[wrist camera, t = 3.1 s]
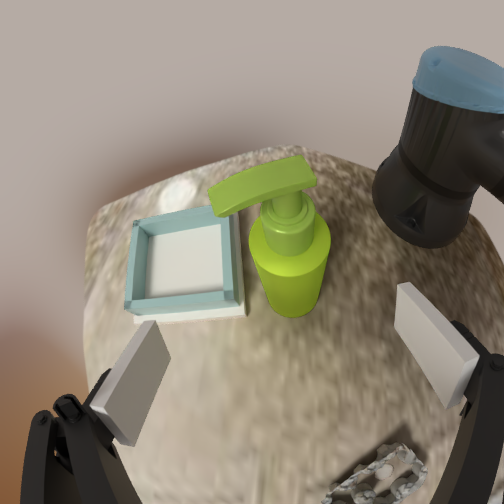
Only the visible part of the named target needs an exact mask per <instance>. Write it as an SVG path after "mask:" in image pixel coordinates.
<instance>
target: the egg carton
mask: <svg viewBox="0 0 504 504" xmlns="http://www.w3.org/2000/svg"><path fill="white" fill-rule="evenodd" d="M401 444H402V445H401ZM401 444H399V443H398V442H395V443H394V444H391V445H385V444H383V445H381V446H380V447H379V448H378V449H377V458H376V460H375V461H374V462H373V463H371V464H369V465H361V464H359V465H358V466H357V467H356V468H355V469H354V470H353V471H354V475H352V476H351V477H350V478H348V479H347V480H346V481H345V482H343V483H342V484H339V483H337V482H335V483H334V484H332V485H331V486H330V487H329V490H330V493H327V494H326V498H325V499H324V500H323V501H321V503H322V504H346V503H345V502H344V501H340V500H338V501H334V502H332V495H331V493H333V492H334V491H335V490H339V491H340V490H343V491H346V490H349V489H352V490H351V496H352V498H353V500H354V502H355V503H356V504H399V503H400V502H402V501H403V500H404V499H405V498H406V497H407V496H409V495H410V494H411V493H413V492H414V491H416V490H417V489H419V488H420V486H421V485H422V484H423V483H424V481H425V478H426V475H427V472H428V469H427V468H426V467H425V466H424V465H423V463H422V462H421V461H420V460H419V459H418V458H417V457H416V455H415V454H414V452H413V451H412V450H411V449H410V450H409V449H408V448H407V447H406V446H405V445H404V444H403V443H401ZM397 453H398V454H397ZM396 454H397V456H398V458H399V459H400V460H402V461H403V462H404V463H406V464H413V466H412V471H413V474H412V475H411V476H410V477H408V478H398V479H396V480H395V481H394V482H393V483H392V484H391V486H390V491H391V493H390V494H389V495H387V496H386V497H385V498H383V497H375V496H376V493H375V492H374V490H373V489H372V488H371V486H370V485H369V484H367V483H360V484H358V485H357V480H358V477H357V475H358V474H360V473H365V474H371V473H372V472H373V471H376V472H375V477H376V479H378V480H385V479H387V478H388V477H390V476H391V475H392V473H393V466H392V465H391V464H385V462H386V461H388V460H390V459H391V458H393V457H394V456H395V455H396ZM331 502H332V503H331Z"/></svg>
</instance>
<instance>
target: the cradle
mask: <svg viewBox="0 0 504 504" xmlns="http://www.w3.org/2000/svg"><path fill="white" fill-rule="evenodd" d="M124 310H126V311H128V312H131V313H133V314H134V324H136V325H138V326H141V324H142V323H143V321H147V320H156V322H157V325H161V324H176V323H189V322H201V321H212V320H222V319H232V318H241V317H247V315H246V303H245V291H244V279H243V266H242V254H241V241H240V228H239V215H238V212H236V213H234V214H232V215H230V216H228V217H225V218H220V217H215V215H214V212H213V209H212V205H208V206H202V207H197V208H192V209H187V210H182V211H177V212H172V213H167V214H163V215H158V216H153V217H149V218H144V219H140V220H135V221H134V222H133V228H132V235H131V242H130V250H129V259H128V268H127V278H126V290H125V304H124Z"/></svg>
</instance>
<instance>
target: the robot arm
mask: <svg viewBox="0 0 504 504" xmlns="http://www.w3.org/2000/svg"><path fill="white" fill-rule="evenodd" d="M412 83H413V90H412V94H411V99H410V103H409V107H408V111H407V115H406V119H405V123H404V126H403V130H402V133H401V137H400V140H399V144H398V145H397V146H396V147H395V149H394V150H393V151H392V152H391V154H390V156H389V157H387V158H386V159H385V160H384V161H383V162H382V163H381V165H380V166H379V168H378V170H377V172H376V175H375V179H374V182H373V186H372V196H373V201H374V204H375V207H376V209H377V211H378V213H379V215H380V217H381V218H382V220H383V221H384V222H385V224H386V225H387V226H388V227H389V228H390V229H391V230H392V231H393V232H394V233H395V234H397V235H398V236H399V237H401V238H402V239H404V240H405V241H407V242H409V243H411V244H413V245H416V246H419V247H423V248H431V249H434V248H441V247H444V246H447V245H449V244H450V243H452V242H453V241H454V240H455V239H456V238H457V237H458V235H459V234H460V233H461V232H462V231H463V229H464V227H465V225H466V223H467V219H468V215H469V210H470V207H471V204H472V200H473V196H474V194H475V192H476V191H477V189H478V188H479V186H480V185H481V186H482V187H484V188H485V189H486V190H487V191H489V192H490V193H491V194H492V195H494V196H495V197H496V198H497V199H498V200H499V201H501V202H502V203H503V204H504V68H502V67H500V66H499V65H497V64H496V63H494V62H492V61H490V60H488V59H486V58H484V57H482V56H479V55H477V54H475V53H472V52H469V51H466V50H463V49H459V48H455V47H448V46H435V47H431V48H429V49H427V50H426V51H425V52H424V53H423V54H422V56H421V59H420V63H419V66H418V70H417V73H416V76H415V77H414V79H413V82H412ZM394 328H395V329H396V331H397V332H398V334H399V335H400V337H401V338H402V340H403V341H404V343H405V344H406V346H407V347H408V349H409V350H410V352H411V353H412V355H413V356H414V358H415V360H416V361H417V363H418V364H419V366H420V368H421V369H422V371H423V372H424V374H425V376H426V377H427V379H428V381H429V382H430V384H431V386H432V387H433V389H434V391H435V392H436V394H437V396H438V398H439V399H440V401H441V403H442V405H443V406H444V408H445V410H446V409H449V408H451V407H453V406H455V405H457V404H459V403H460V401H461V399H462V397H463V395H465V397H466V398H467V402H466V403H465V405H464V407H463V409H462V411H461V413H460V416H462V419H461V423H460V426H459V430H458V433H457V437H456V440H455V443H454V446H453V449H452V452H451V455H450V458H449V460H448V463H447V466H446V468H445V471H444V473H443V476H442V478H441V481H440V483H439V485H438V487H437V490H436V492H435V494H434V496H433V498H432V500H431V502H430V504H487V502H488V499H489V497H490V494H491V491H492V487H493V484H494V481H495V477H496V474H497V470H498V466H499V462H500V457H501V453H502V448H503V443H504V356H503V355H500V354H490V353H489V352H488V350H487V349H486V348H485V347H484V346H483V345H482V344H481V343H480V342H479V341H478V340H477V338H476V337H474V335H473V334H472V333H471V332H469V330H468V329H467V328H466V327H465V326H464V325H463V324H461V323H459V322H457V321H455V320H454V321H451V322H449V321H448V320H447V319H446V318H445V317H444V316H443V315H442V314H441V313H440V312H439V311H438V310H437V309H436V308H435V307H434V305H433V304H432V303H431V302H430V301H429V300H428V299H427V298H426V297H425V296H424V295H423V294H421V293H420V292H419V291H418V290H417V289H416V288H415V287H414V286H413V285H412V284H411V283H410V282H406V283H402V284H397V299H396V312H395V323H394ZM170 360H171V357H170V354H169V352H168V350H167V347H166V345H165V342H164V340H163V338H162V335H161V333H160V330H159V328H158V325H157V322H156V320H147V321H143V323H142V324H141V326H140V327H139V329H138V330H137V332H136V333H135V335H134V336H133V338H132V339H131V341H130V342H129V344H128V345H127V347H126V348H125V350H124V351H123V353H122V354H121V356H120V357H119V359H118V360H117V362H116V363H115V365H114V366H113V368H112V369H110V368H109V369H108V370H107V371H106V372H104V373H103V374H102V375H101V377H100V378H99V380H98V381H97V382H98V383H96V384H95V386H94V389H92V391H91V392H90V394H89V395H88V397H87V399H86V400H85V402H84V403H83V405H81V404H80V402H79V401H78V399H77V398H76V397H75V396H74V395H73V394H66V395H63V396H61V397H59V398H58V399H57V400H56V401H55V403H54V405H53V409H54V411H55V412H56V413H57V415H58V416H59V417H56V418H55V417H54V416H53V415H52V414H51V412H50V411H48V410H42V411H39V412H38V413H36V415H35V416H34V417H33V419H32V422H31V427H30V431H29V436H28V442H27V447H26V452H25V459H24V466H23V475H22V484H21V497H20V504H142V502H141V500H140V498H139V497H138V495H137V493H136V491H135V489H134V487H133V485H132V483H131V481H130V479H129V477H128V475H127V473H126V470H125V468H124V466H123V464H122V461H121V459H120V457H119V454H118V452H117V450H116V447H115V446H114V444H113V443H112V441H113V439H114V437H115V438H116V439H117V441H118V442H119V443H120V444H122V445H128V446H133V447H135V444H136V442H137V439H138V436H139V434H140V431H141V429H142V426H143V424H144V422H145V419H146V417H147V414H148V412H149V409H150V407H151V404H152V402H153V400H154V397H155V395H156V392H157V390H158V388H159V385H160V383H161V381H162V378H163V376H164V373H165V371H166V369H167V366H168V364H169V362H170ZM462 414H463V415H462ZM54 450H55V451H56V452H57V454H56V456H55V455H54ZM502 504H504V493H503V502H502Z"/></svg>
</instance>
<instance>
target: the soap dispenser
mask: <svg viewBox="0 0 504 504" xmlns="http://www.w3.org/2000/svg"><path fill="white" fill-rule="evenodd" d="M316 185H317V178H316V176H315V175H314V173H313V172H312V170H311V168H310V167H309V165H308V164H307V162H306V160H305V159H304V157H303V156H302V155H298V156H293V157H288V158H284V159H280V160H276V161H272V162H268V163H265V164H261V165H258V166H255V167H252V168H249V169H246V170H244V171H242V172H239V173H237V174H235V175H233V176H231V177H229V178H227V179H225V180H223V181H221V182H219V183H218V184H216V185H214V186H213V187H211V188H209V189H208V195H209V198H210V202H211V205H212V209H213V212H214V215H215V217H220V218H225V217H228V216H230V215H232V214H234V213H236V212H238V211H240V210H242V209H244V208H247V207H249V206H252V205H254V204H257V203H260V202H262V204H261V208H260V216H259V217H258V218H257V219H256V221H255V222H254V224H253V226H252V228H251V230H250V234H249V248H250V252H251V255H252V257H253V260H254V263H255V266H256V268H257V271H258V274H259V277H260V279H261V282H262V285H263V288H264V290H265V293H266V296H267V299H268V301H269V304H270V306H271V307H272V308H273V310H274V311H276V312H277V313H278V314H280V315H282V316H285V317H289V318H296V317H300V316H303V315H305V314H307V313H308V312H310V311H311V310H312V309H313V307H314V306H315V304H316V302H317V300H318V296H319V292H320V288H321V284H322V280H323V276H324V272H325V267H326V263H327V259H328V254H329V250H330V245H331V235H330V231H329V228H328V226H327V224H326V222H325V221H324V219H323V218H322V217H321V216H320V215H319V214H318V213H317V212H316V210H315V205H314V203H313V201H312V199H311V198H310V197H309V196H308V195H307V194H306V193H304V192H302V190H303V189H306V188H310V187H314V186H316Z"/></svg>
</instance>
